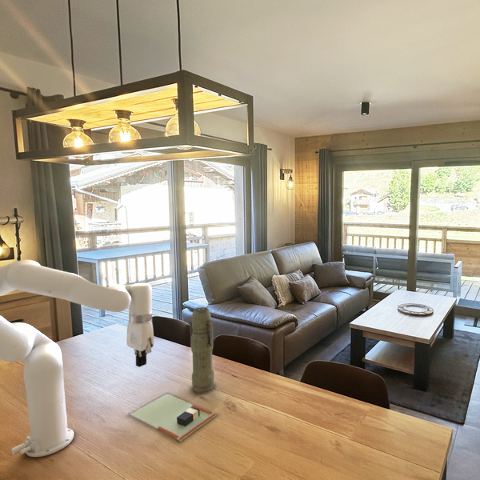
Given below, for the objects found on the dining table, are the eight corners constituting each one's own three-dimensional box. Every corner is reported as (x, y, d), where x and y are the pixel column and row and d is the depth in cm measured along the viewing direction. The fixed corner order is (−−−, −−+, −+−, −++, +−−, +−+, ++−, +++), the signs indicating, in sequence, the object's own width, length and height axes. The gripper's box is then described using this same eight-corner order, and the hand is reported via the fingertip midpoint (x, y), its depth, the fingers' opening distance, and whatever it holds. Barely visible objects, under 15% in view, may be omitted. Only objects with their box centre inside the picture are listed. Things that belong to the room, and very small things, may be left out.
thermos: (198, 380, 154) (196, 304, 150) (221, 385, 150) (219, 307, 146) (184, 390, 146) (181, 310, 141) (208, 396, 142) (206, 314, 137)
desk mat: (180, 441, 115) (180, 439, 115) (129, 415, 129) (129, 413, 129) (216, 415, 129) (216, 414, 129) (167, 394, 143) (167, 392, 143)
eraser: (185, 427, 122) (185, 420, 122) (176, 423, 124) (176, 417, 123) (200, 415, 128) (199, 409, 128) (191, 412, 130) (191, 406, 130)
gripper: (118, 316, 127) (119, 363, 129) (143, 324, 120) (144, 374, 121) (138, 311, 133) (138, 356, 135) (162, 318, 126) (163, 366, 128)
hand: (141, 365), depth 128 cm, fingers closed
